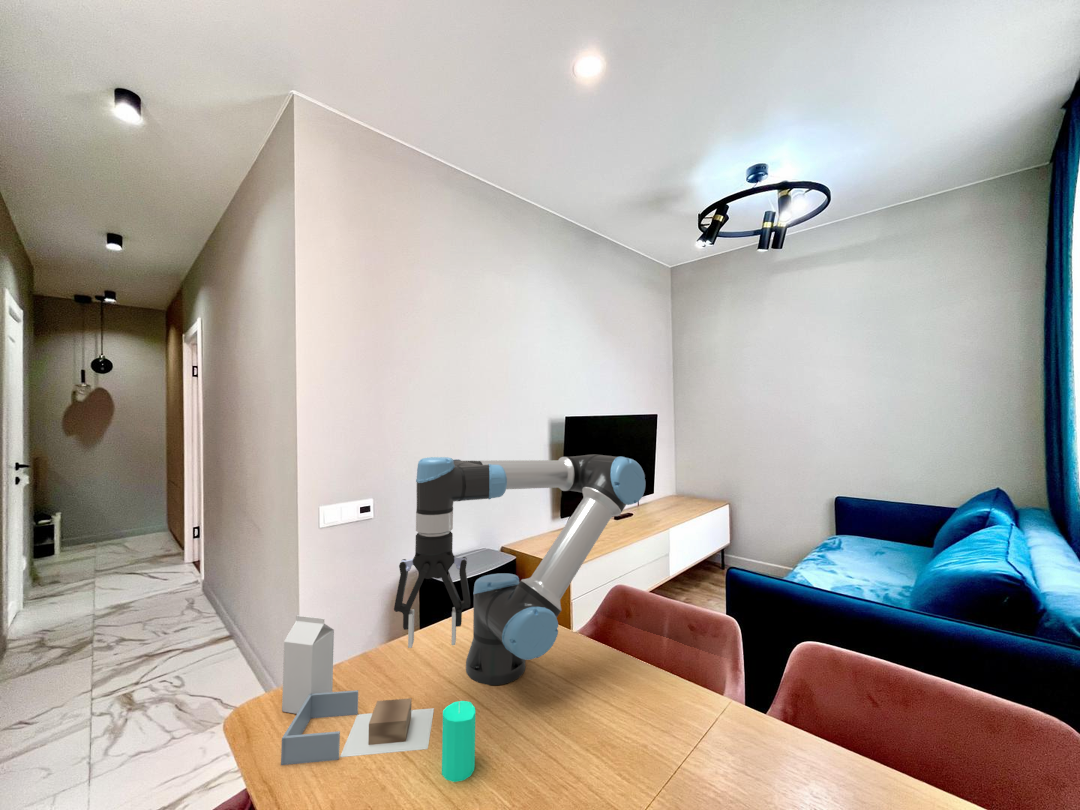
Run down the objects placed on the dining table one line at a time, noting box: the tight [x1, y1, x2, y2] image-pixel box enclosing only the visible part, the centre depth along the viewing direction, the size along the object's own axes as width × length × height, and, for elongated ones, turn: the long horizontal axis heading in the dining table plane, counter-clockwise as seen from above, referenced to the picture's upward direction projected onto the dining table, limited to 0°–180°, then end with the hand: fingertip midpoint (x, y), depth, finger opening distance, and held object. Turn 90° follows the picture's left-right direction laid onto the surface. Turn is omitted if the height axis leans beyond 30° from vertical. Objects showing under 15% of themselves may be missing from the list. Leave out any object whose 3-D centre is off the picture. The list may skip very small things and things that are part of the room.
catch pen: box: [280, 690, 359, 766], centre depth 87 cm, size 10×13×5 cm
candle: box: [441, 700, 477, 783], centre depth 79 cm, size 6×6×12 cm
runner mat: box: [339, 707, 435, 758], centre depth 88 cm, size 16×12×1 cm
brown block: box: [368, 697, 413, 745], centre depth 89 cm, size 7×7×4 cm
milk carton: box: [281, 615, 335, 715], centre depth 97 cm, size 7×7×19 cm
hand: (432, 643), depth 90 cm, fingers open, 8 cm apart
